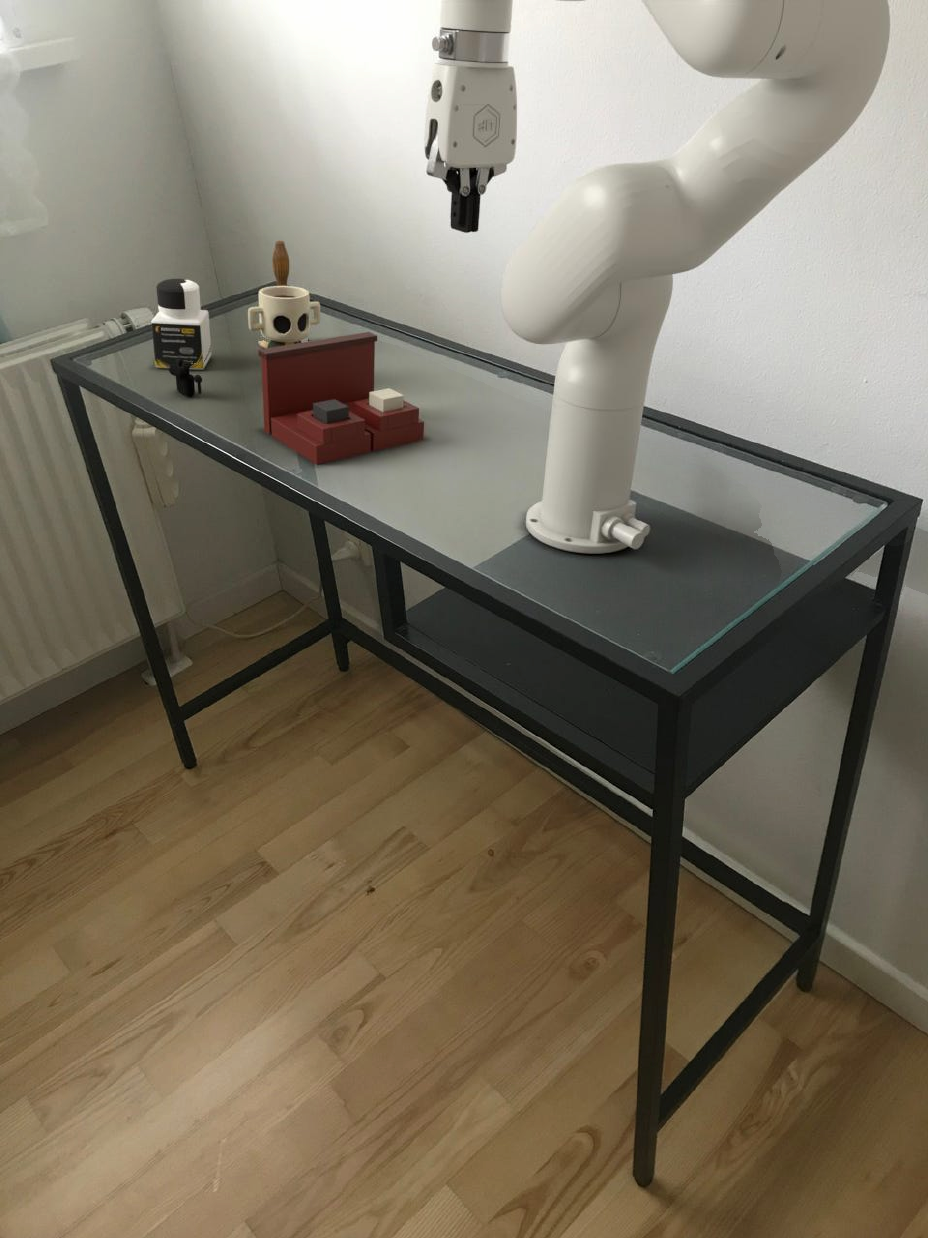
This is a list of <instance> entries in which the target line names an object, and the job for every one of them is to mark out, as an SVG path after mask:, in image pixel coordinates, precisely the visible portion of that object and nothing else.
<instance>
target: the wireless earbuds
mask: <svg viewBox="0 0 928 1238" xmlns="http://www.w3.org/2000/svg"><path fill="white" fill-rule="evenodd" d="M177 365H178V366H177ZM177 365H175V364H171V365H170V368H169V369H168V371H169V374H170V375H171V376H173V377H175V384H176V386H175V387H176V391H177V392H178V393H179V394H182V396H183V395H184V396H186V397H189V398H190V397H194V396H195V394H196V386H195V385H196V384H195V383H197V393H198V395H202V394H203V393H202V382H203V378H202V376H201V375H200V374H196V375H193V374H191V373H190V367H191V366H190V363H189V362H188V361H183V360H182V359H180V358H178V359H177ZM181 366H183V367H181Z"/></svg>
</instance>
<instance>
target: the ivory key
mask: <svg viewBox="0 0 928 1238" xmlns="http://www.w3.org/2000/svg"><path fill="white" fill-rule="evenodd" d="M404 401H405V395H404V394H402V393H400V392H398V391H396V390H394V389H392V388H390V387H389V388H383V389H379V390H374V391H373V392H369V405H370V406H372V407H374V408H376V409H378V410H380V411H381V412H386V411H391V410H396V409H400V408H403V406H404Z"/></svg>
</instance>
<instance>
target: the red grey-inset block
mask: <svg viewBox="0 0 928 1238" xmlns="http://www.w3.org/2000/svg"><path fill="white" fill-rule="evenodd" d="M271 429H272V434H271V437H272V438H274V439H276V440H277V441H279V442H281V443H282V444H284V445H285V446H287V447H288V448H289V449H291V450H293V451H294V452H296V453H298V454H299V455H301V456H302V457H304V458H305V459H307V460H309V461H311V462H312V463H313V464H315V465H317V466H318V465H322V464H327V463H331V462H335V461H339V460H342V459H346V458H348V459H349V458H351V457H356V456H361V455H364V454H368V453H372V452H371V451H372V450H371V434H370V433H369V432H367V431H365V420H364V419H362V418H360V417H359V416H357V415H355V414H353V413H351V412H350V411H349V420H344V421H340V422H335V423H330V424H327V425H326V424H325V423H323V422H321V421H320V420H318V419H316V418H314V417H313V410H308V411H303V412H298V413H293V414H288V415H283V416H278V417H273V418H271Z"/></svg>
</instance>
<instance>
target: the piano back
mask: <svg viewBox="0 0 928 1238" xmlns="http://www.w3.org/2000/svg"><path fill="white" fill-rule="evenodd" d="M376 342H378V335H376V334H374V333H372V332H370V331H365V332H359V333H352V334H347V335H341V336H334V337H328V338H323V339H315V340H309V342H303V343H297V344H290V345H284V346H278V347H272V348H266V349H265V348H260V349H257V351H258V352H257V353H258V356H259V357H260V362H261V363H260V364H261V385H262V386H261V387H262V409H263V411H262V412H263V431H264V433H266V434H268V435H272V429H271V418H273V417H278V416H283V415H288V414H293V413H298V412H303V411H308V410H313V403H318V402H323V401H328V400H333V399H335V400H337V401H339V402H341V403H347V402H352V401H357V400H362V399H366V398H369V392H373V391H375V363H376V362H375V359H376V357H375V355H376V353H375V352H376V351H375V350H376Z"/></svg>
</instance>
